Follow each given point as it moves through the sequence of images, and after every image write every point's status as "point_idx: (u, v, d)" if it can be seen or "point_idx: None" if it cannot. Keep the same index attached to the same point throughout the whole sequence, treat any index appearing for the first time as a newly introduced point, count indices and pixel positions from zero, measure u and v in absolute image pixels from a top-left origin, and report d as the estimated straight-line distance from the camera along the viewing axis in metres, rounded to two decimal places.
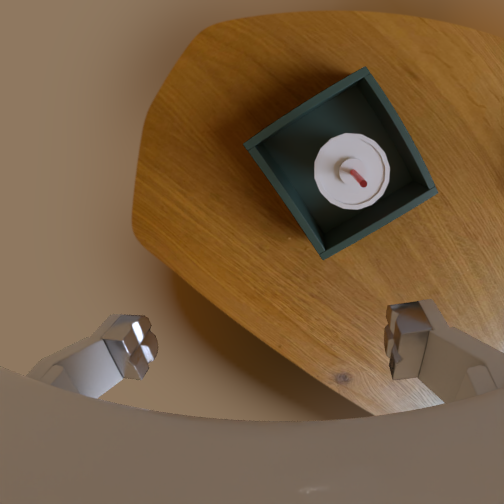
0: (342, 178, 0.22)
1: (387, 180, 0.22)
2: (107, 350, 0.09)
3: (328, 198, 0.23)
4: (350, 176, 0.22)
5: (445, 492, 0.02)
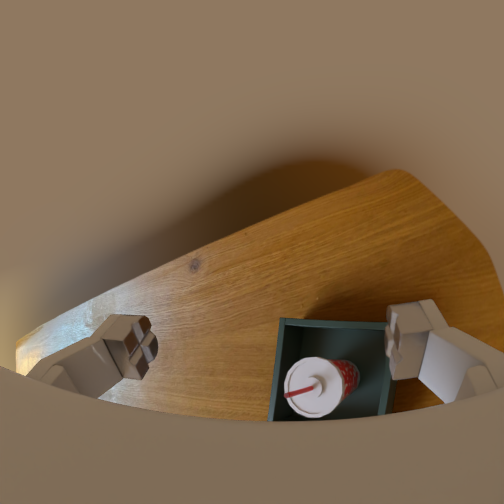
0: (312, 378, 0.26)
1: (290, 404, 0.27)
2: (107, 350, 0.09)
3: (308, 358, 0.27)
4: (310, 384, 0.26)
5: (445, 492, 0.02)
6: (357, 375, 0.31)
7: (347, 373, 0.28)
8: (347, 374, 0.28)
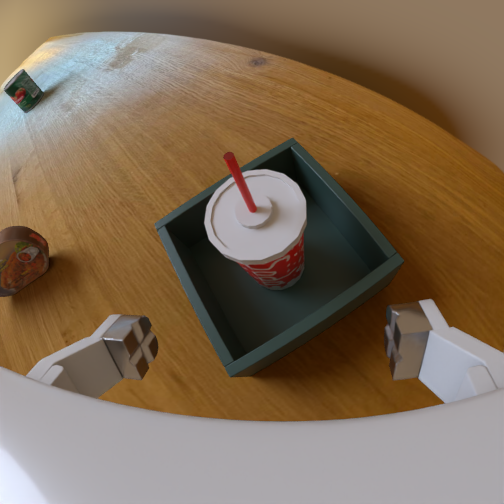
0: (267, 200, 0.17)
1: (208, 207, 0.18)
2: (107, 349, 0.09)
3: (286, 177, 0.18)
4: (256, 203, 0.17)
5: (445, 492, 0.02)
6: (297, 275, 0.23)
7: (299, 250, 0.20)
8: (299, 251, 0.20)
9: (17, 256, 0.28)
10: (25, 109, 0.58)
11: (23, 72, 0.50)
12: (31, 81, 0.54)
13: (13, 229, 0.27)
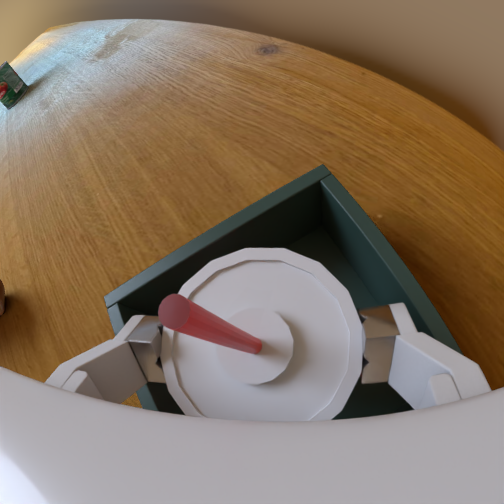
0: (285, 329, 0.08)
1: None
2: (131, 352, 0.09)
3: (324, 273, 0.09)
4: (262, 334, 0.08)
5: (445, 492, 0.02)
6: None
7: None
8: None
9: None
10: (7, 105, 0.49)
11: (5, 65, 0.41)
12: (14, 74, 0.45)
13: None
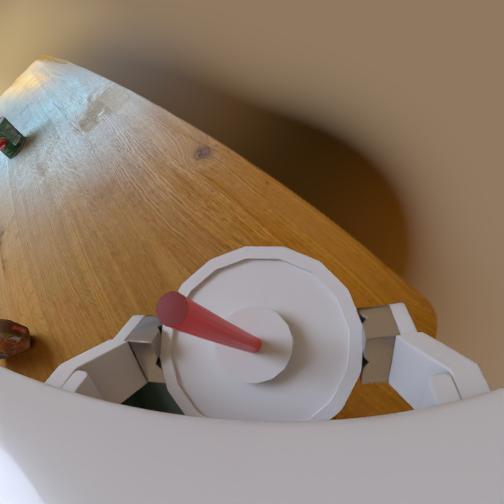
0: (284, 327, 0.08)
1: None
2: (131, 352, 0.09)
3: (324, 272, 0.09)
4: (261, 333, 0.08)
5: (445, 492, 0.02)
6: None
7: None
8: None
9: (5, 340, 0.32)
10: (8, 156, 0.62)
11: (3, 121, 0.54)
12: (12, 129, 0.58)
13: None
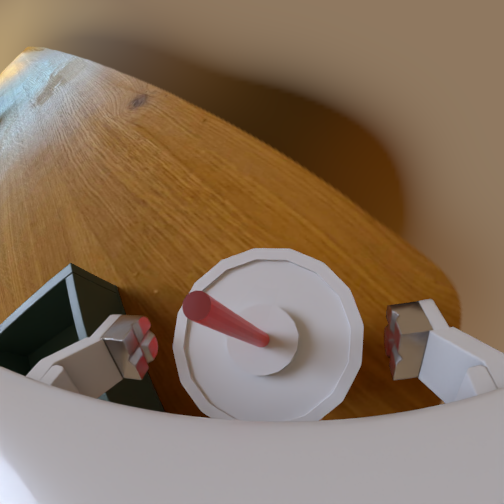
0: (290, 324, 0.09)
1: (180, 317, 0.10)
2: (106, 349, 0.09)
3: (328, 272, 0.09)
4: (269, 329, 0.09)
5: (445, 492, 0.02)
6: None
7: None
8: None
9: None
10: None
11: None
12: None
13: None
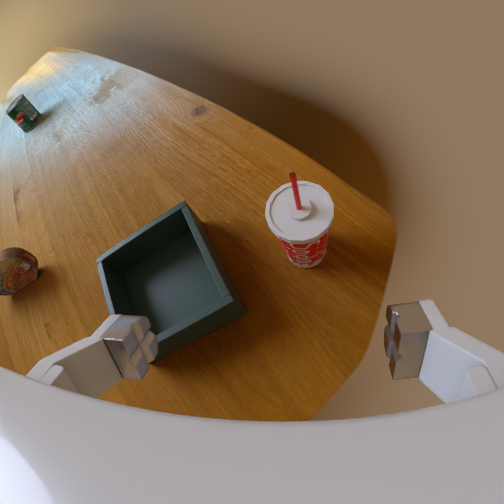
0: (308, 202, 0.26)
1: (267, 204, 0.27)
2: (107, 349, 0.09)
3: (320, 188, 0.26)
4: (301, 204, 0.26)
5: (445, 492, 0.02)
6: (321, 257, 0.32)
7: (326, 237, 0.28)
8: (325, 238, 0.28)
9: (15, 268, 0.39)
10: (25, 130, 0.69)
11: (22, 98, 0.61)
12: (30, 105, 0.65)
13: (12, 250, 0.37)
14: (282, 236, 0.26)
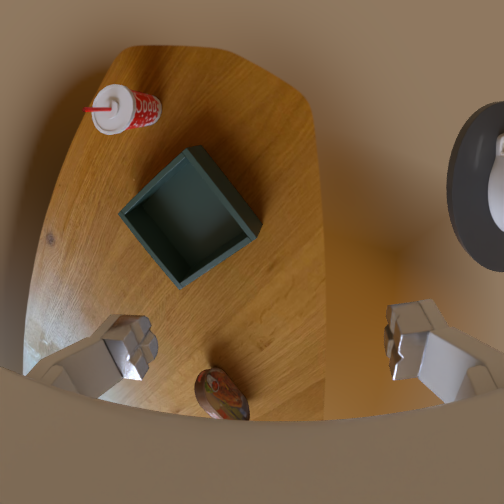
0: (106, 103, 0.28)
1: (109, 133, 0.30)
2: (107, 349, 0.09)
3: (96, 98, 0.29)
4: None
5: (445, 492, 0.02)
6: (151, 95, 0.35)
7: (133, 90, 0.31)
8: (133, 90, 0.31)
9: (215, 391, 0.49)
10: None
11: None
12: None
13: (197, 395, 0.47)
14: (130, 115, 0.29)
